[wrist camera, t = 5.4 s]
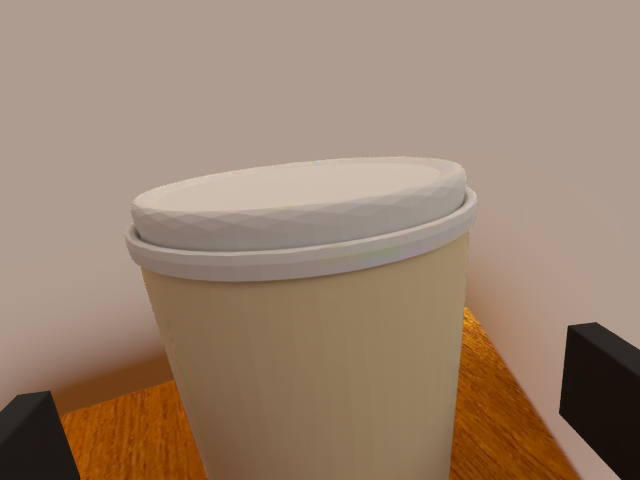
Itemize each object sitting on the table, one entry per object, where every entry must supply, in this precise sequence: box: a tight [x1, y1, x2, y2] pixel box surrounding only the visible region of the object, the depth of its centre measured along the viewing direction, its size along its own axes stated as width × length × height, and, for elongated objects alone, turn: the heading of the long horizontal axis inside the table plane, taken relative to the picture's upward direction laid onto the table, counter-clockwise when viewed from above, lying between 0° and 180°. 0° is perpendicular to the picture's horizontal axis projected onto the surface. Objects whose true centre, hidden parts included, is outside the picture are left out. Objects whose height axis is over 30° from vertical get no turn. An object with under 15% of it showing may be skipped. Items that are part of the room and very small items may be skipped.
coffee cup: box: [125, 157, 478, 480], centre depth 13 cm, size 9×9×12 cm
